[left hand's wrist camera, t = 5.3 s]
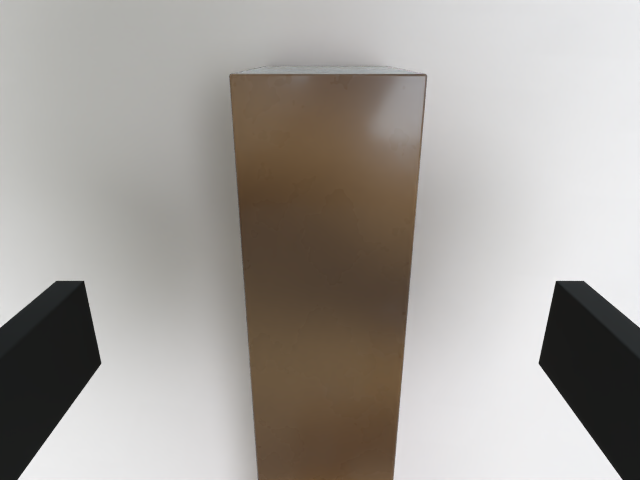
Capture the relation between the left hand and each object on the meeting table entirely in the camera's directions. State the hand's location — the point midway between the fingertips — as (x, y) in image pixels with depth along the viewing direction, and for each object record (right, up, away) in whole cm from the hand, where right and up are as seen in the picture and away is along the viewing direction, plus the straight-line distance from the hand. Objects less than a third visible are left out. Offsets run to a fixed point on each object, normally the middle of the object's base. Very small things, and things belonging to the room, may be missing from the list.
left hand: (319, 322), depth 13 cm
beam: (0, -16, +17) cm, 23 cm away
